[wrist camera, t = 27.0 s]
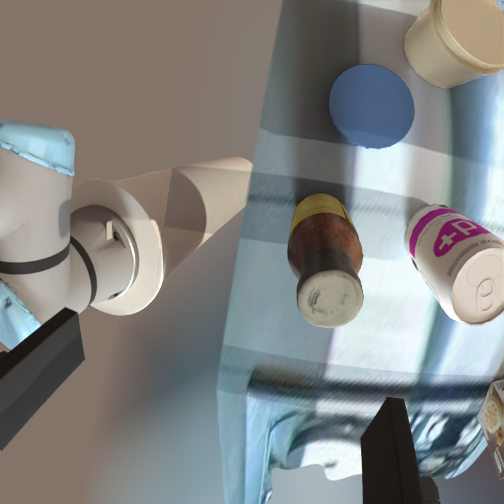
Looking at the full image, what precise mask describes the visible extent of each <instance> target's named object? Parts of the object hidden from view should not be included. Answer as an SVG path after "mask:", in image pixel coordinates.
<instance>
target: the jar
mask: <svg viewBox="0 0 504 504" xmlns="http://www.w3.org/2000/svg"><path fill="white" fill-rule="evenodd" d="M404 51H405V55H406V58H407V60H408V62H409V64H410V65H411V67H412V68H413V70H414V71H415V72H416V73H417V74H418V75H419V76H420V77H421V78H422V79H424V80H425V81H426V82H428V83H430V84H432V85H434V86H437V87H440V88H454V87H457V86H459V85H462V84H465V83H468V82H471V81H473V80H476V79H479V78H482V77H485V76H488V75H491V74H494V73H497V72H498V71H500V70H501V69H502V68H503V67H504V12H503V10H502V9H501V8H500V7H499V6H498V5H497V4H496V3H495V2H494V1H493V0H431V1H430V2H429V4H428V5H427V6H426V7H425V9H424V10H423V11H422V12H421V14H420V15H419V16H418V18H417V19H416V20H415V21H414V23H413V24H412V25H411V26H410V28H409V29H408V30H407V32H406V34H405V37H404Z"/></svg>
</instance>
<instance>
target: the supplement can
mask: <svg viewBox="0 0 504 504" xmlns="http://www.w3.org/2000/svg"><path fill="white" fill-rule="evenodd" d="M404 247H405V250H406V252H407V255H408V257H409V259H410V260H411V262H412V263H413V264H414V266H415V267H416V269H417V270H418V272H419V273H420V275H421V276H422V278H423V279H424V281H425V282H426V284H427V285H428V287H429V288H430V290H431V291H432V293H433V294H434V296H435V297H436V299H437V300H438V302H439V304H440V305H441V307H442V308H443V310H444V311H445V312H446V313H447V314H448V315H449V317H450V318H452V319H454V320H456V321H459V322H461V323H466V324H468V325H470V326H474V325H483V324H486V323H489V322H491V321H493V320H494V319H496V318H497V317H498V316H499V315H501V314H502V313H503V312H504V241H503V240H501V239H500V238H498V237H497V236H495V235H494V234H492V233H491V232H489V231H488V230H486V229H484V228H483V227H481V226H479V225H478V224H476V223H475V222H473V221H471V220H470V219H468V218H466V217H464V216H463V215H461V214H459V213H458V212H456V211H454V210H452V209H451V208H449V207H447V206H445V205H439V204H432V205H429V206H425V207H423V208H422V209H420V210H419V211H418V212H416V213H415V214H414V215H413V217H412V218H411V219H410V221H409V222H408V224H407V227H406V231H405V234H404Z"/></svg>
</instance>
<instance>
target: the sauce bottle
mask: <svg viewBox="0 0 504 504" xmlns="http://www.w3.org/2000/svg"><path fill="white" fill-rule="evenodd" d="M287 254H288V261H289V265H290V267H291V270H292V271H293V273H294V274H295V276H296V277H297V278H298V279H299V282H298V285H297V306H298V308H299V310H300V312H301V314H302V315H303V317H304V318H305V319H306V320H307V321H308V322H309V323H311V324H313V325H315V326H318V327H324V328H334V327H339V326H342V325H345V324H347V323H348V322H350V321H352V320H353V319H354V318H355V317H356V316H357V314H358V313H359V311H360V309H361V307H362V304H363V298H364V296H363V290H362V285H361V281H360V279H359V277H358V275H357V274H358V272H359V270H360V268H361V265H362V261H363V253H362V247H361V244H360V241H359V237H358V234H357V231H356V229H355V227H354V225H353V223H352V221H351V219H350V217H349V215H348V213H347V211H346V209H345V207H344V206H343V204H342V203H340V202H339V200H338V199H337V198H335V197H333V196H331V195H328V194H322V193H314V194H312V195H310V196H308V197H306V198H305V199H303V200H302V201H301V202H300V203H299V205H298V206H297V208H296V210H295V212H294V215H293V220H292V226H291V231H290V236H289V241H288V251H287Z"/></svg>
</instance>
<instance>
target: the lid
mask: <svg viewBox="0 0 504 504" xmlns="http://www.w3.org/2000/svg"><path fill="white" fill-rule="evenodd" d="M328 102H329V111H328V112H329V113H330V117H331V119H332V122H333V124H334V126H335V127H336V129H337V130H338V132H339V133H340V134H341V135H342V136H343V137H345V138H346V140H349V141H350V142H352V143H354V144H355V145H358V146H361V147H365V148H367V149H369V148H374V149H380V148H386V147H390V146H392V145H394V144H396V143H398V142H399V141H400V140H402V139H403V138H404V137H405V136H406V134H407V133H408V131H409V130H410V128H411V126H412V123H413V119H414V102H413V98H412V96H411V93H410V91H409V89H408V87H407V86H406V84H405V83H404V82H403V81H402V80H401V78H399V77H398V76H397V75H396V74H395V73H393V72H392V71H390V70H388V69H386V68H384V67H381V66H378V65H372V64H362V65H357V66H353V67H351V68H349V69H347V70H346V71H344V72H343V73H342V74H340V75H339V77H338V78H337V79H336V80H335V82H334V84H333V86H332V88H331V89H330V95H329V99H328Z"/></svg>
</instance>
